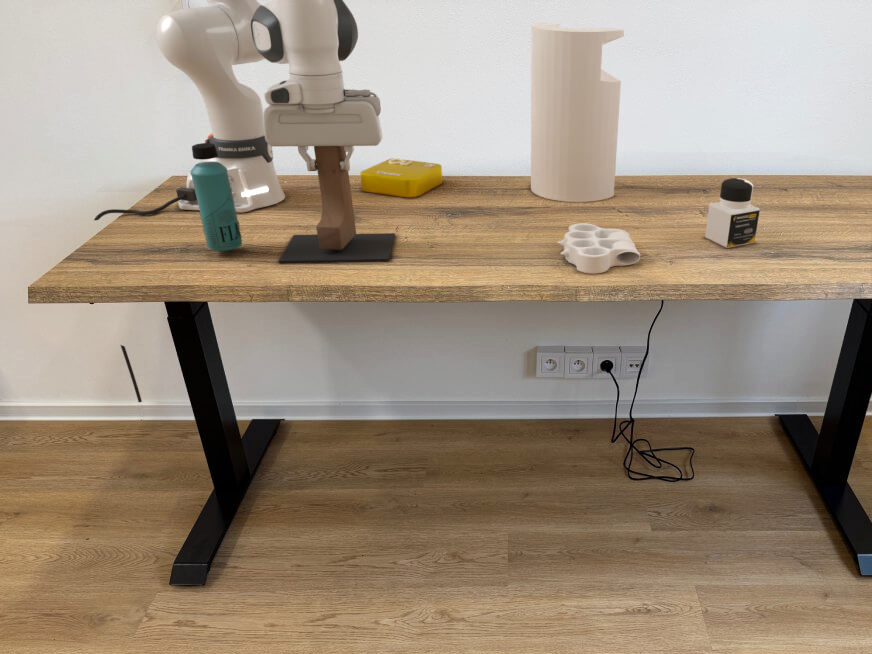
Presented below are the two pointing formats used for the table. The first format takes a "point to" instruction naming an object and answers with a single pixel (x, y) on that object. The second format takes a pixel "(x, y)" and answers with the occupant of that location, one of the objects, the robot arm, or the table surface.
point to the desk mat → (354, 251)
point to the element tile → (401, 178)
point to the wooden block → (334, 199)
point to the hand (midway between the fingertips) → (328, 170)
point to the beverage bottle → (215, 200)
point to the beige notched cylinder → (572, 114)
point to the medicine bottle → (733, 215)
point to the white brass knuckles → (598, 248)
